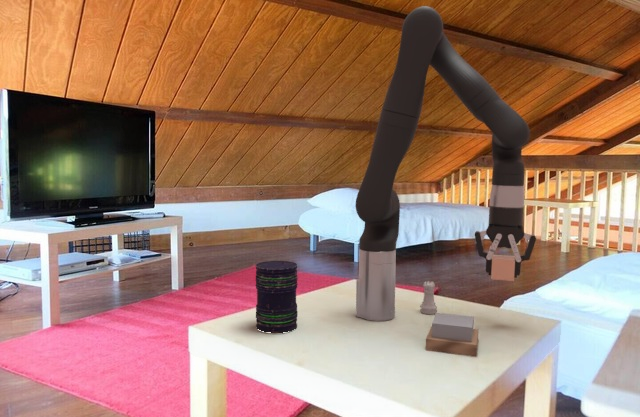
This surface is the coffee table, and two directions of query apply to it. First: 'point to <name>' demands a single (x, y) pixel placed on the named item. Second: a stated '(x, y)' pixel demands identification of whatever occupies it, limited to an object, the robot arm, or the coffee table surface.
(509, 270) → the terracotta cube
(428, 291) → the rook chess piece
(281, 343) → the coffee table surface
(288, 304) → the storage jar
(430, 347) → the walnut base slab
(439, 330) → the slate top block
